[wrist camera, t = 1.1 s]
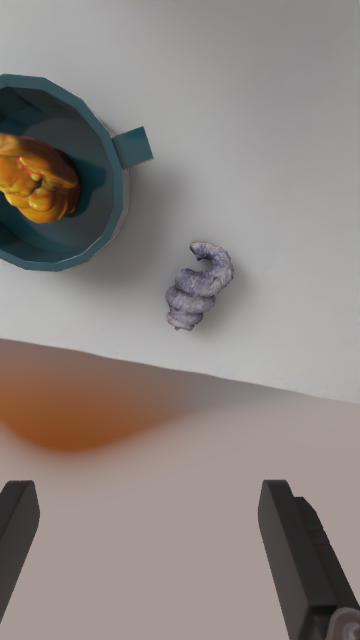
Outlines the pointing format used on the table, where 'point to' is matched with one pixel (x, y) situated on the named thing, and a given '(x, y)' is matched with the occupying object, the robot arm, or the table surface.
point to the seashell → (198, 287)
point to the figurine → (38, 178)
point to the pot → (93, 167)
